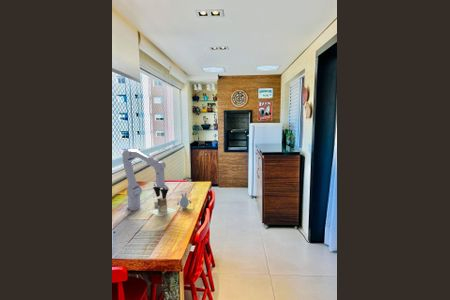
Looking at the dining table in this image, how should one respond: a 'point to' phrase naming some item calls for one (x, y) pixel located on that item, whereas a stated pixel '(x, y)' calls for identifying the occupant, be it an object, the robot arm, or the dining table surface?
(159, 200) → the walnut block
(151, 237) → the dining table surface
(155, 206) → the grey block
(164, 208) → the maple block
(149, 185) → the dining table surface
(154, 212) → the station board
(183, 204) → the toy figure
